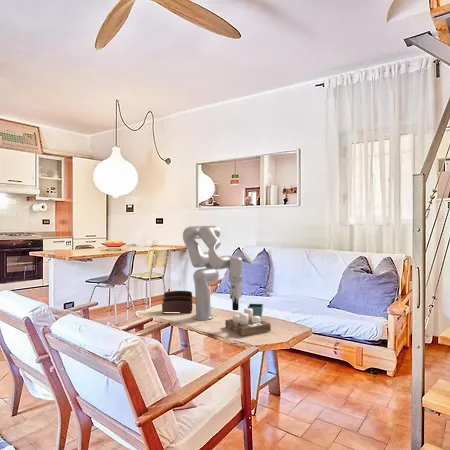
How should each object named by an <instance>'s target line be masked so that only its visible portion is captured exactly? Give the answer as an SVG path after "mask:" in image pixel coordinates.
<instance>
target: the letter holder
mask: <svg viewBox="0 0 450 450" xmlns="http://www.w3.org/2000/svg"><path fill="white" fill-rule="evenodd" d="M192 309H193V292H192V291H189V290H171V291H164V293H163V299H162V303H161V312H180V313H186V314H192V312H193V310H192Z"/></svg>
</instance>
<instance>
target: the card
mask: <svg viewBox="0 0 450 450" xmlns="http://www.w3.org/2000/svg"><path fill="white" fill-rule="evenodd" d="M261 325H262V324H259V323H255V324H250V325H248V326H250V327H255V326H261Z"/></svg>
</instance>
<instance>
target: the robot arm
mask: <svg viewBox="0 0 450 450" xmlns="http://www.w3.org/2000/svg"><path fill="white" fill-rule="evenodd" d="M220 236H221V230H220V228H219V227H218V226H217V225H195V226H192V225H191V226H188V227H187V226H186V228H184V230H183V232H182V239H183V242H184V244H185V247H186V249H187V251H188V252H187V253H188V256H189V260H190V262H191V265H192V267H193V268H196V269H197V270H195V271H194V272H193V274H192V275H193V276H192V277H193V282H194V290H195V292H194V293H195V314H194V315H193V319H194V320H195V321H207V320H212V319H213V318H214V315H213V314H212V309H211V289H210V287H209V283H214V282H217V281H218V279H219V278H220V275H219V274H220V273H219V270H224V269H225V270H226V269H228V282H229V283H230V284H229V298H230V299H231V302H232V303H231V304H232V310H233V311H239V304H240V303H239V301H240V298H242V296H243V290H242V289H243V286H242V284H243V283H242V282H243V259H242V257H239V256H234V255H220V256H219V255H218V253H217V252H216V251H217V250H218V248H220V246H221V240H220V239H219V237H220ZM200 239H201V240H202V241H203V243H204V244H205V246H206V247H207V249H208V250H207V251H206V252H205V251H204V252H203V251H202V249H201V246H200V244H199V243H198V242H197V240H200ZM199 268H200V269H199Z"/></svg>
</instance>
